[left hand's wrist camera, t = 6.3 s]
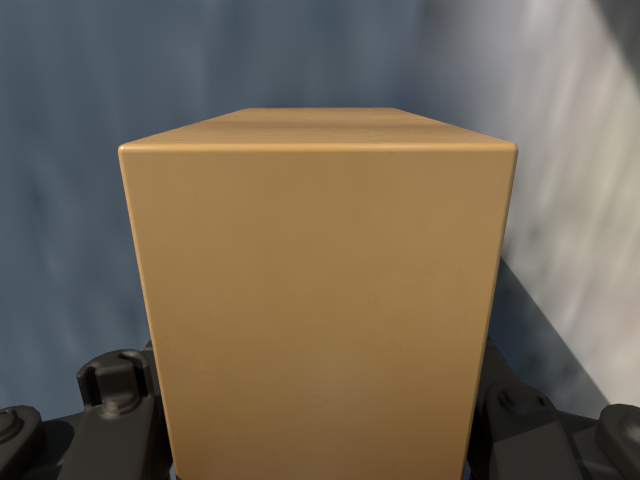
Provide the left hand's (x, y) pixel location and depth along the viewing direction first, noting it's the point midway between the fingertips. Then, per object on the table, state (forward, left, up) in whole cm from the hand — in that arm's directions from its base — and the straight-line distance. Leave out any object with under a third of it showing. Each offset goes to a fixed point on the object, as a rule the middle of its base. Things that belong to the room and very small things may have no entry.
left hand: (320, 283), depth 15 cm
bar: (+19, 0, -1) cm, 19 cm away
